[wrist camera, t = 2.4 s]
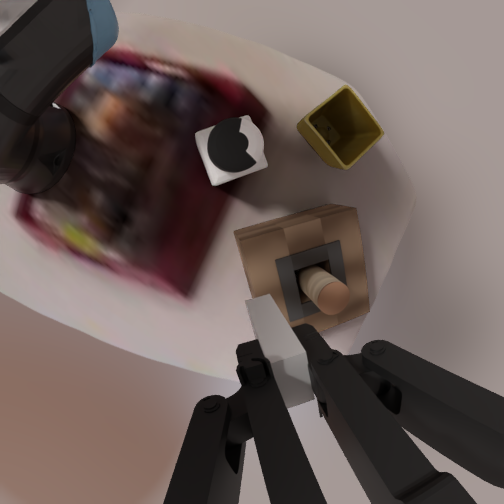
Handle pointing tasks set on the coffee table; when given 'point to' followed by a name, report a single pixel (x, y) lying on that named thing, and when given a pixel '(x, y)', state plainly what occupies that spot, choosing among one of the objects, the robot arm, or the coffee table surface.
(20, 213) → the coffee table surface
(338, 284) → the peg
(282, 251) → the socket block
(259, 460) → the robot arm
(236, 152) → the medicine bottle
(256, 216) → the coffee table surface
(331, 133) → the flower pot
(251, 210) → the coffee table surface
